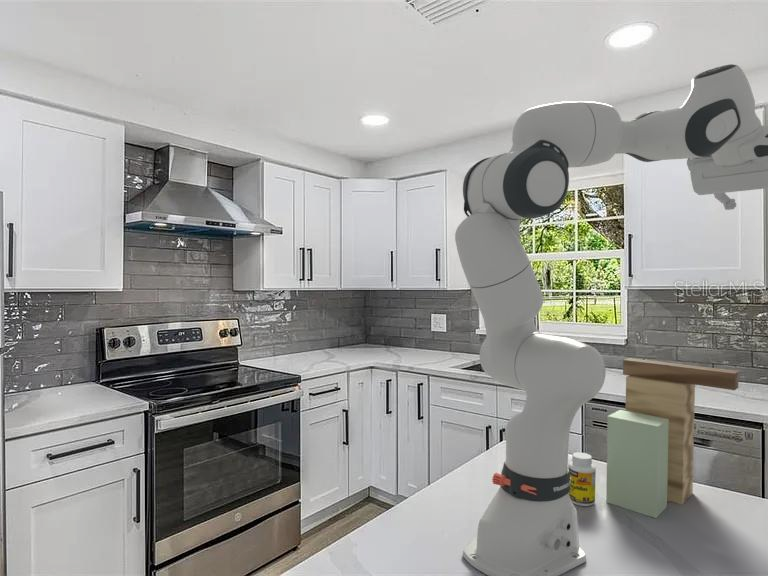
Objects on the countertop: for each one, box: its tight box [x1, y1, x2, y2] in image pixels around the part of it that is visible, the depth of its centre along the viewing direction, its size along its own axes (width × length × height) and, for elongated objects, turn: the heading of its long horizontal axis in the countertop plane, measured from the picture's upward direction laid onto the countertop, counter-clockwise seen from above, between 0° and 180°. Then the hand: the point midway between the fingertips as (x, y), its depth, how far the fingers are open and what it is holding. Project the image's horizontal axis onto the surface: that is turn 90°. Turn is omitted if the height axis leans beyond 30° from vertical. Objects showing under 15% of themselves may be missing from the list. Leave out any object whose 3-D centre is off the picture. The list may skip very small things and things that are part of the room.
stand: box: [625, 375, 696, 505], centre depth 114 cm, size 8×12×26 cm, turn 44°
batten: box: [622, 357, 740, 391], centre depth 111 cm, size 4×22×4 cm, turn 44°
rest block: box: [605, 409, 669, 519], centre depth 107 cm, size 7×10×19 cm
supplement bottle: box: [568, 451, 597, 507], centre depth 109 cm, size 6×6×10 cm
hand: (756, 206), depth 102 cm, fingers open, 8 cm apart
